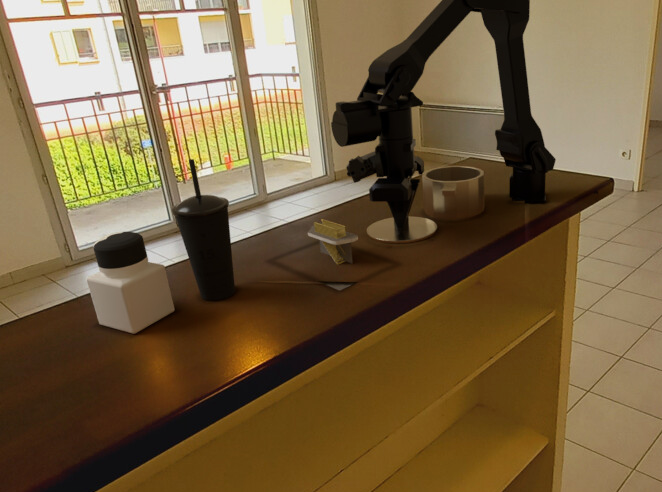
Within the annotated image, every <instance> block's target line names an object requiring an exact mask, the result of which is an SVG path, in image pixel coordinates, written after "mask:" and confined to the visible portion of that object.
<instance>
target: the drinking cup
mask: <svg viewBox="0 0 662 492" xmlns="http://www.w3.org/2000/svg"><path fill="white" fill-rule="evenodd" d="M188 163H189V168H190V174H191V178H192V183H193V188H194V194H195V195H193V196H190V197H187V198H184V199H183V200H182V201H180V202H179V203H176V204H175V205H174V206H172V208H171V213H172V215H173V216H175V219H176V223H177V226H178V229H179V232H180V236H181V238H182V242H183V244H184V247H185V251H186V255H187V257H188V260H189V263H190V266H191V269H192V272H193V276H194V279H195V282H196V285H197V288H198V291H199V294H200V297H201V299H202V300H203V301H204V300H205V301H207V302H216V301H222V300H226V299H227V298H228V299H229V298H230V297H231V296H233V295H234V294H235V292H236V286H235V275H234V264H233V252H232V251H233V250H232V241H231V229H230V217H229V208H228V207H229V206H230V201H229V200H228V199H227V198H226V197H221V196H218V195H215V194H201V188H200V184H199V177H198V172H197V168H196V163H195V159H194V158H192V159H188Z"/></svg>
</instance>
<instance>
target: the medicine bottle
mask: <svg viewBox="0 0 662 492" xmlns="http://www.w3.org/2000/svg"><path fill="white" fill-rule="evenodd" d="M92 248H93V252H94V255H95V259H96V263H97V266H98V272H96V273H93V274H92V275H89V276H87V277H86V283H87V286H88V290H89V293H90V296H91V300H92V304H93V307H94V310H95V314H96V318H97V321H98V324H99V325H101V326H104V327H107V328H111V329H115V330H118V331H122V332H125V333H130V334H132V335H134V334H137V333H139V332H140V331H143V330H144V329H146V328H147V327H149V326H151V325H153V324H155V323H156V322H158V321H160V320H162V319H164V318H166V317H167V316H169V315H170V314H172V313H174V312H175V310H176V309H175V304H174V299H173V295H172V291H171V287H170V283H169V277H168V274H167V270H166V266H165V265H164V264H161V263H156V262H152V261H151V262H150V261H149V257H148V253H147V249H146V245H145V241H144V236H143V235H142V234H140V233H138V232H133V231H119V232H113V233H110V234H107V235H104V236H102V237H100V238H99V239H97V240H96V241H95V242H94V243H93V246H92Z"/></svg>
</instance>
